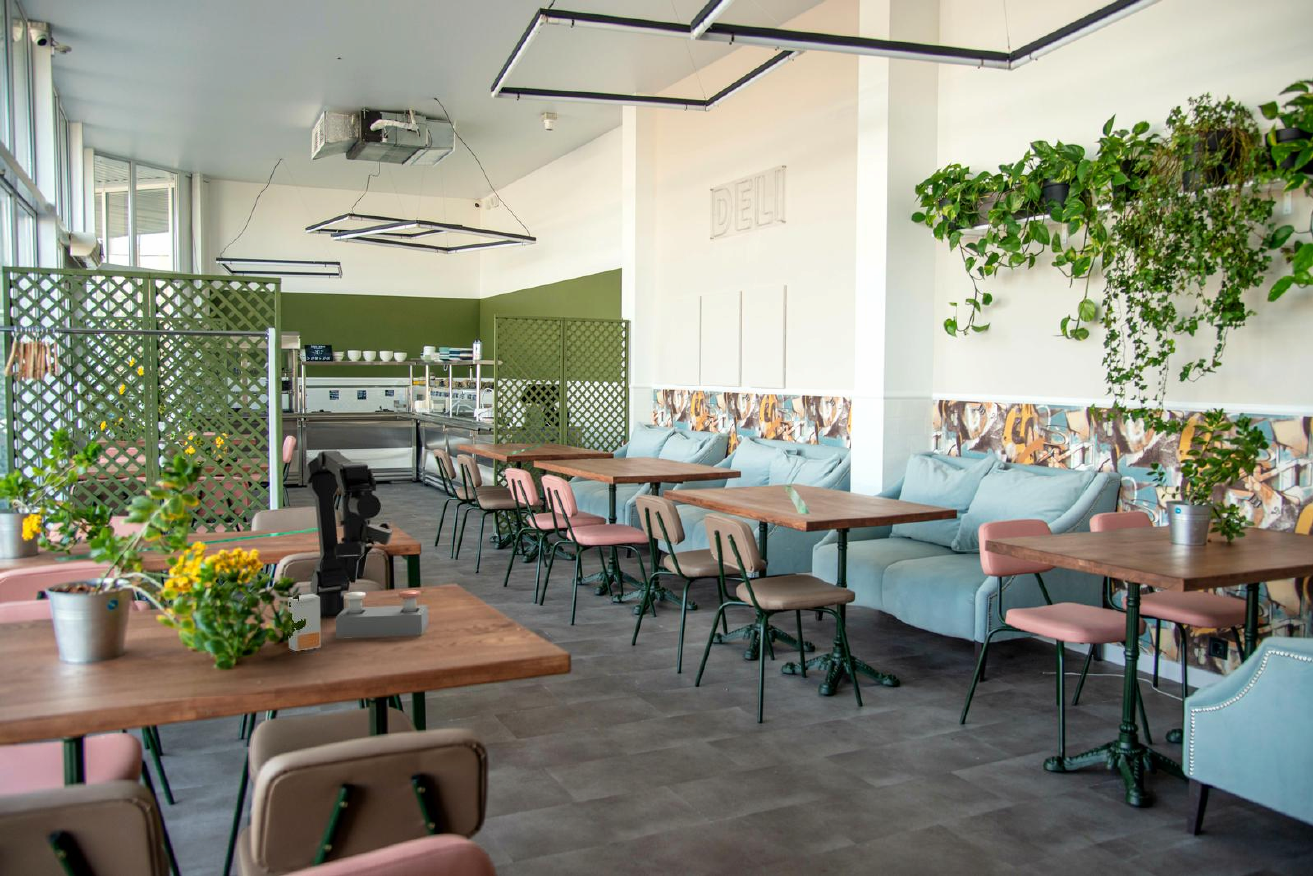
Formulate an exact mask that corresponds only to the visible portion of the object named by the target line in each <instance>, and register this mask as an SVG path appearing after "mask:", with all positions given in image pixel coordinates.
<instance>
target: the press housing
mask: <svg viewBox="0 0 1313 876" xmlns="http://www.w3.org/2000/svg"><path fill="white" fill-rule="evenodd" d="M428 610H429V609H428V604H422V605H420V604H419V605H418V604H417V612H404V613H403V605H394V606H392V605H389V606H387V605H386V606H384V605H383V606H362V614H348V607H346V608H345V609H344V610H343V611H342V612H341V613H340V614H339V615H338V616H337V617H335V638H336V639H344V638H343V637H348V638H347V639H350V638H349V637H361V638H384V637H387V638H388V637H412V636H413V637H415V636H423V634H424V632H425V630H426V629H427V627H428V625H429V622H428V621H429V616H428V615H429V614H428V613H429V612H428Z"/></svg>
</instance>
